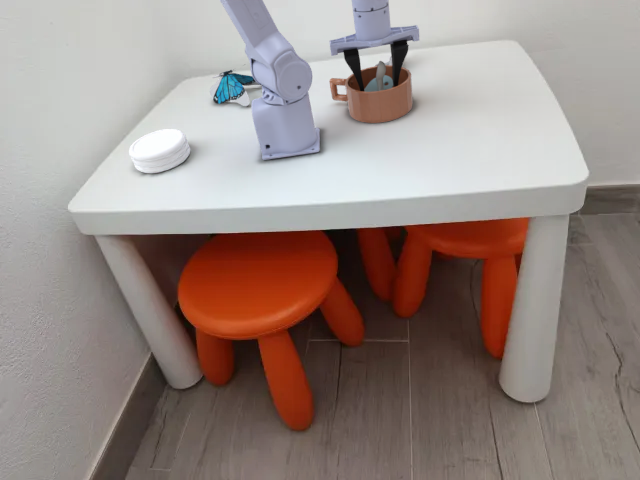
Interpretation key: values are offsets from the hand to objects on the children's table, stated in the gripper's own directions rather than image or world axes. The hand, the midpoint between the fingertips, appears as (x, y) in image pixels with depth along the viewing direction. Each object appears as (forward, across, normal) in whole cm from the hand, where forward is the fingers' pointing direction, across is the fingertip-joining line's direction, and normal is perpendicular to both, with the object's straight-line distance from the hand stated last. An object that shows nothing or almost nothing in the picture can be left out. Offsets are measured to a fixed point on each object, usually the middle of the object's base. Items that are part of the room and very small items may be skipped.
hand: (378, 88), depth 88 cm
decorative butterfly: (+1, -28, +16) cm, 33 cm away
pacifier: (+2, -1, 0) cm, 2 cm away
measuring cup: (+4, -2, +1) cm, 4 cm away
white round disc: (+4, -39, -6) cm, 40 cm away
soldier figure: (+4, +4, +16) cm, 17 cm away
